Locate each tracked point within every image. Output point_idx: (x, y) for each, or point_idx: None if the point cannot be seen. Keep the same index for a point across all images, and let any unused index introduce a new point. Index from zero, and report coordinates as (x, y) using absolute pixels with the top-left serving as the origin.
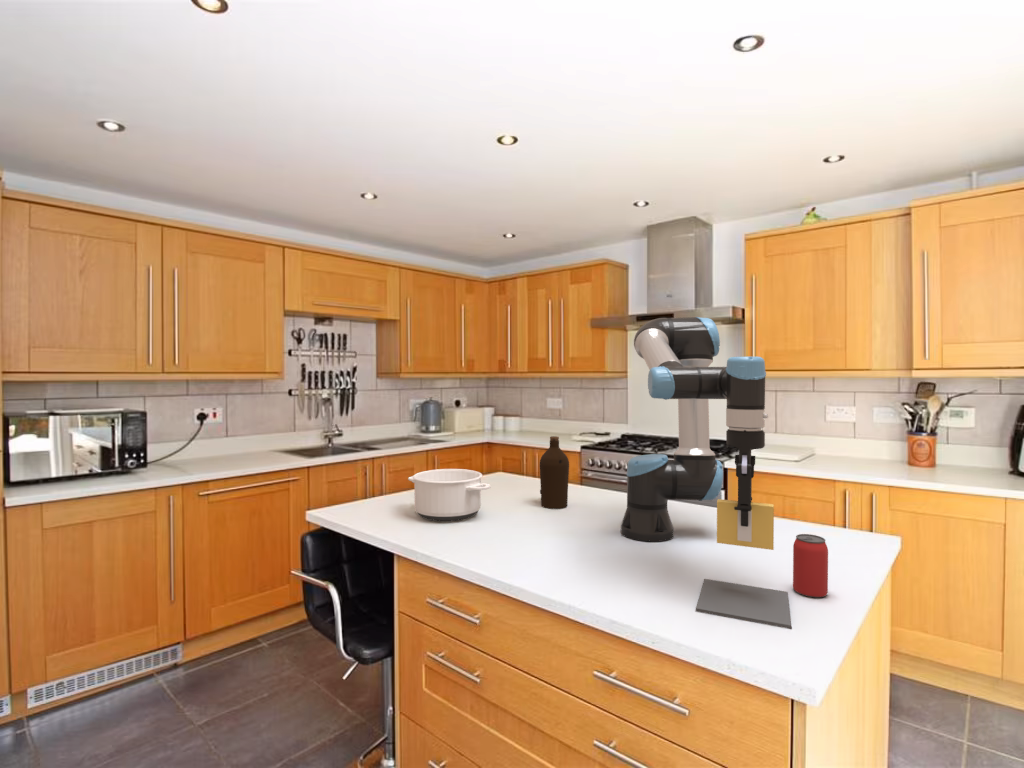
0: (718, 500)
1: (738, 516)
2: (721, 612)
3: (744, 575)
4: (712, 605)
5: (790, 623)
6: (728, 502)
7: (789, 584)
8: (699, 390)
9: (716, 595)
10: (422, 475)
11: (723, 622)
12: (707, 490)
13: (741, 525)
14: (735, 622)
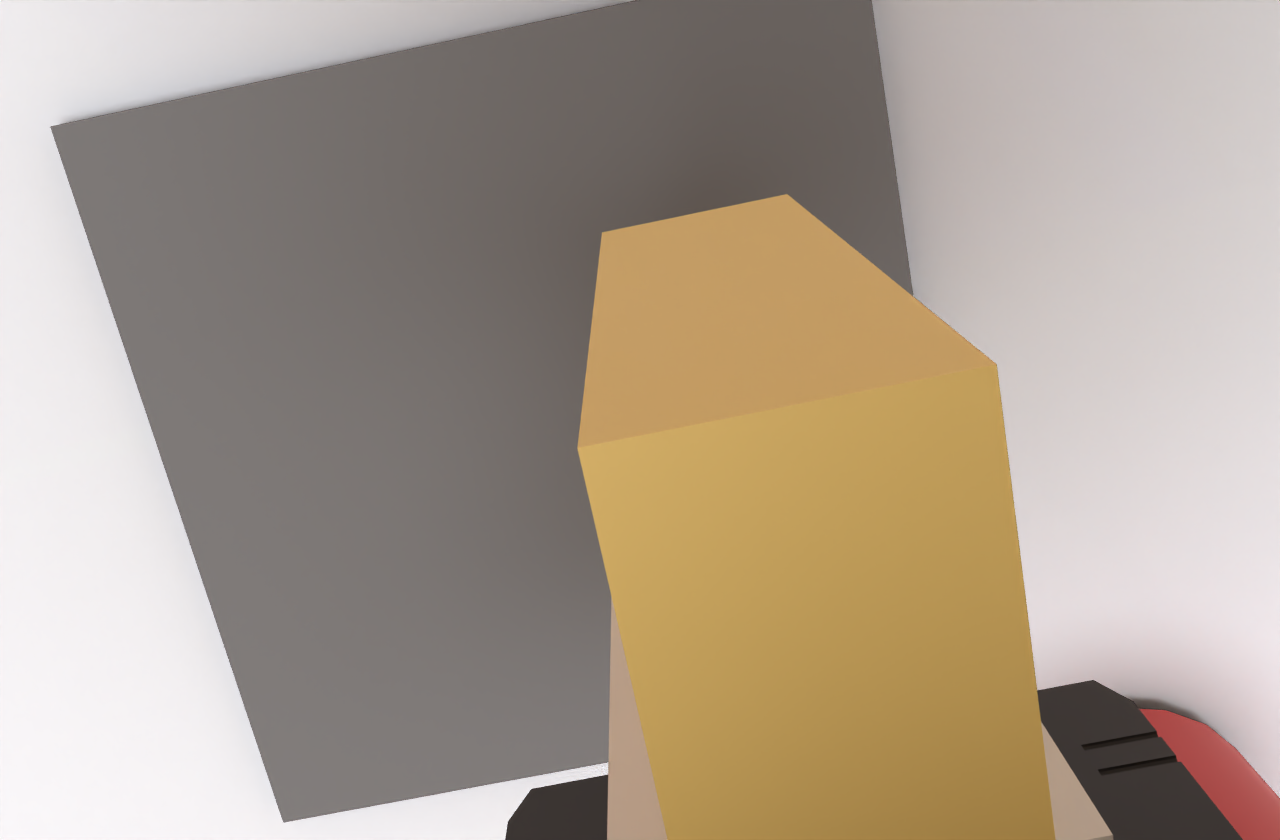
0: (780, 442)
1: (613, 831)
2: (133, 347)
3: (1267, 266)
4: (225, 237)
5: (314, 811)
6: (660, 791)
7: (1227, 653)
8: None
9: (481, 201)
10: None
11: (31, 389)
12: None
13: (526, 809)
14: (103, 466)
